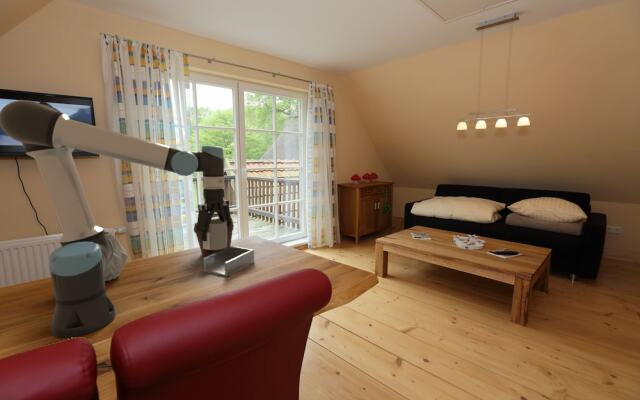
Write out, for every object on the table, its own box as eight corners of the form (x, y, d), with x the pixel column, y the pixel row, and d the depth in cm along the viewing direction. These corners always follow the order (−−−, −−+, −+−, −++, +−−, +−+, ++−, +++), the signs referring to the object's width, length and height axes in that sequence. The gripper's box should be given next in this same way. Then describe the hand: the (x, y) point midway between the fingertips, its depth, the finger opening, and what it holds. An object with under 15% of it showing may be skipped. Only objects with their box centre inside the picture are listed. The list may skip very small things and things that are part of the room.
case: (186, 259, 140) (184, 222, 137) (209, 246, 160) (207, 213, 157) (221, 262, 137) (220, 224, 134) (240, 248, 157) (239, 215, 154)
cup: (199, 248, 114) (198, 222, 112) (213, 242, 121) (212, 218, 120) (218, 251, 111) (217, 224, 109) (231, 244, 119) (230, 220, 117)
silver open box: (227, 277, 122) (226, 263, 121) (204, 271, 127) (203, 258, 126) (254, 262, 138) (253, 249, 137) (232, 257, 143) (232, 245, 142)
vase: (89, 273, 125) (84, 230, 122) (134, 267, 131) (130, 226, 128) (74, 290, 110) (67, 241, 107) (125, 283, 116) (120, 237, 113)
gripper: (198, 191, 101) (201, 255, 105) (240, 185, 120) (241, 240, 124) (183, 189, 105) (186, 251, 108) (226, 184, 124) (227, 237, 127)
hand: (215, 245), depth 116 cm, fingers closed on cup, 8 cm apart
